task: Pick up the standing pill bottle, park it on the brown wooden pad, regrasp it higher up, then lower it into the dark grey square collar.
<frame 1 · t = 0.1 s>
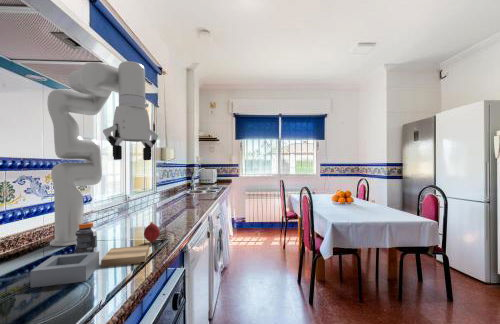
hand: (133, 159, 82), 31 cm above the counter, tool pointing down, fingers open, 9 cm apart
onion: (152, 243, 104), on the counter
pill bottle: (86, 258, 87), on the counter
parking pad: (127, 258, 86), on the counter
socket collar: (68, 275, 73), on the counter
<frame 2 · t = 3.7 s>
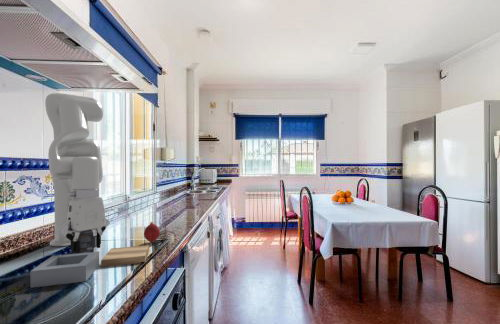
hand: (86, 249, 87), 3 cm above the counter, tool pointing down, fingers closed on pill bottle, 6 cm apart
pill bottle: (86, 258, 87), on the counter, touching gripper
everything else where it was.
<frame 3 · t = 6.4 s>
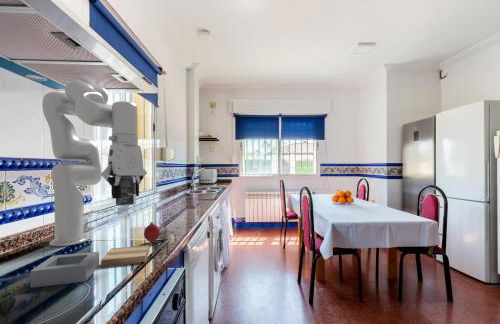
hand: (125, 196, 86), 20 cm above the counter, tool pointing down, fingers closed on pill bottle, 6 cm apart
pill bottle: (126, 205, 86), point 17 cm above the counter, touching gripper
everything else where it was.
when the fingers open (5 cm above the counter, at t = 9.5 s): pill bottle stays where it is, resting on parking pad.
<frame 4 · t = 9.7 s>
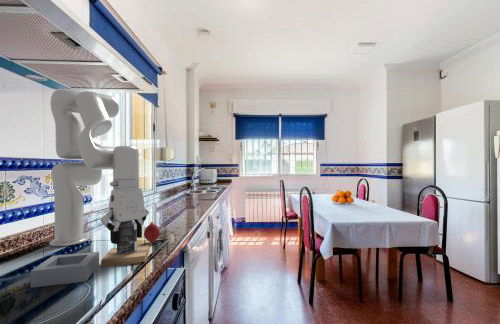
hand: (127, 239, 86), 6 cm above the counter, tool pointing down, fingers open, 7 cm apart
pill bottle: (127, 252, 86), point 2 cm above the counter, touching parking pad
everything else where it was.
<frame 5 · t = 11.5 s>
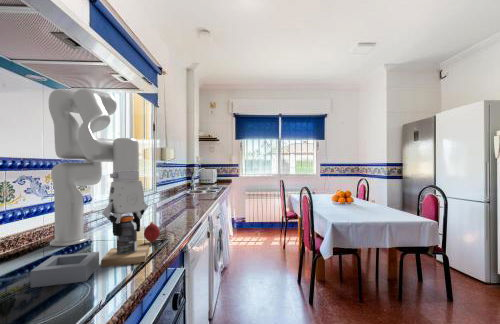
hand: (127, 232, 86), 8 cm above the counter, tool pointing down, fingers closed on pill bottle, 6 cm apart
pill bottle: (127, 252, 86), point 2 cm above the counter, touching gripper, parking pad
everything else where it was.
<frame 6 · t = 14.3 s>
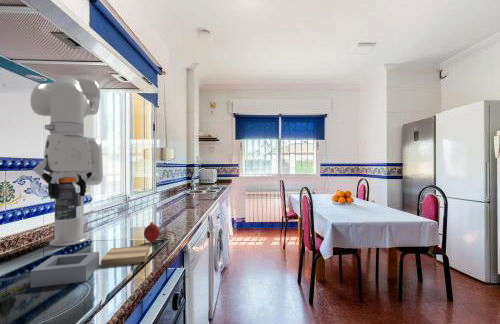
hand: (67, 196, 73), 21 cm above the counter, tool pointing down, fingers closed on pill bottle, 6 cm apart
pill bottle: (68, 219, 73), point 15 cm above the counter, touching gripper
everything else where it was.
when the fingers open (7 cm above the counter, at t = 17.3 s): pill bottle stays where it is, resting in socket collar.
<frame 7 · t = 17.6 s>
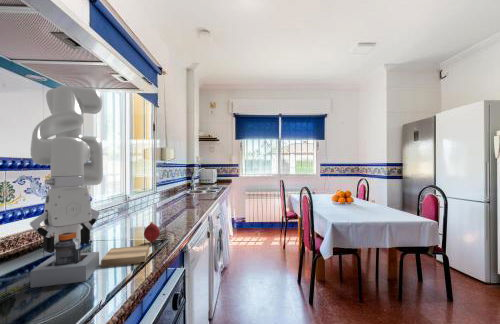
hand: (68, 247, 73), 8 cm above the counter, tool pointing down, fingers open, 8 cm apart
pill bottle: (67, 275, 73), resting in socket collar
everything else where it was.
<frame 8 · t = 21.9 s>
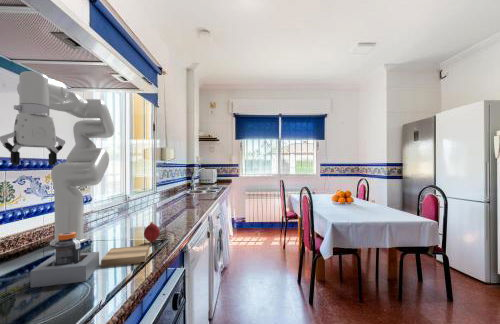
hand: (34, 165, 86), 30 cm above the counter, tool pointing down, fingers open, 9 cm apart
nothing on the counter moved.
at the end: pill bottle 0.3 cm off-centre on the socket collar, point 0.0 cm above the socket collar's base; pill bottle tilted 0°; the gripper is holding nothing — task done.
